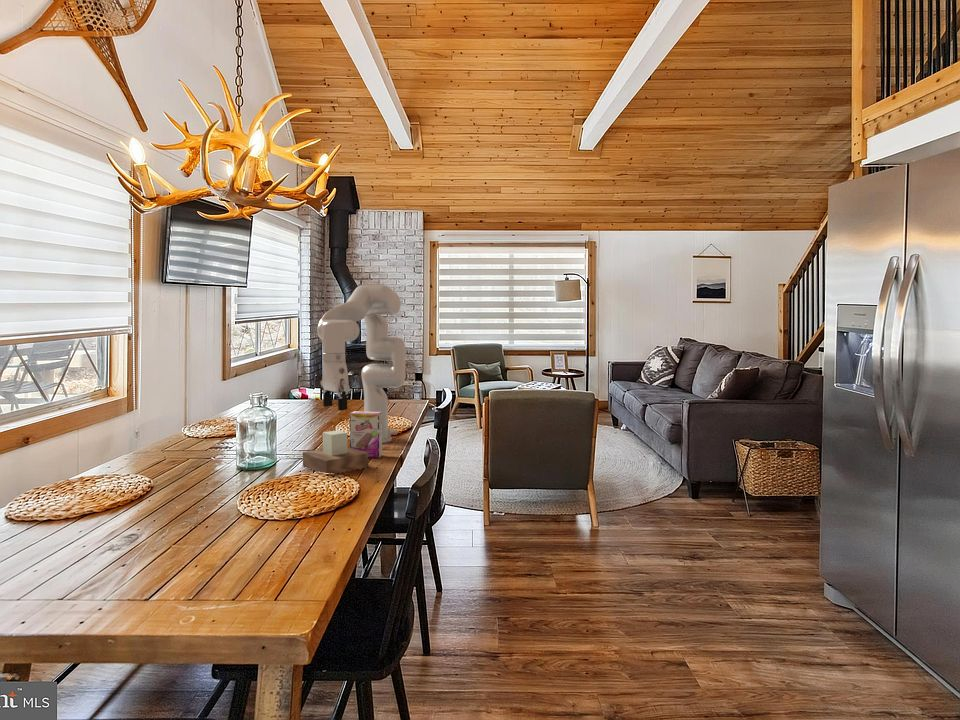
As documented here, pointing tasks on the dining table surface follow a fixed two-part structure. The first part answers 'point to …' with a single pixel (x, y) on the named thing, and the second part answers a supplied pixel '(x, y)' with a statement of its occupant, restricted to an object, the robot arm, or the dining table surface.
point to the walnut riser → (335, 461)
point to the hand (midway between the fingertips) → (335, 407)
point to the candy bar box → (366, 432)
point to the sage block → (335, 442)
